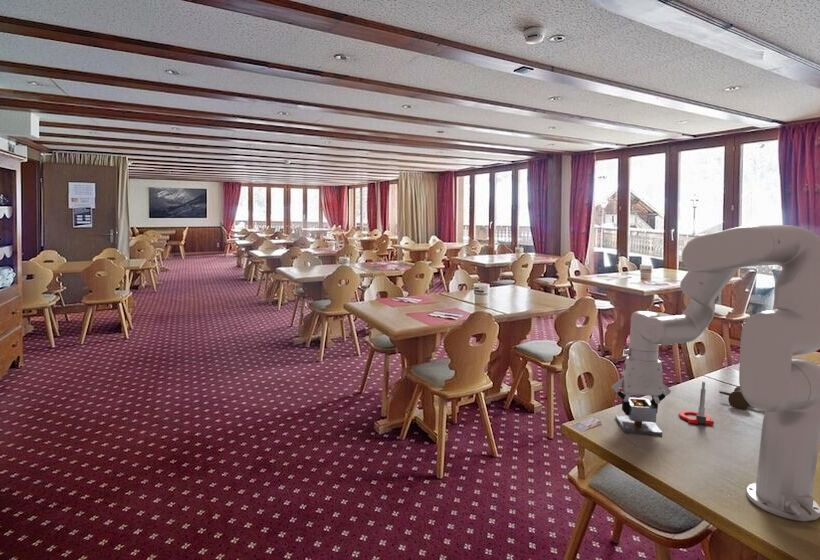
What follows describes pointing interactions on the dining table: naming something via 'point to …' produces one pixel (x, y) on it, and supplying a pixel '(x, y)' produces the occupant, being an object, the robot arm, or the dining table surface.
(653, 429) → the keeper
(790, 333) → the robot arm
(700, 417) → the tow hook
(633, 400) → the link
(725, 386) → the dining table surface
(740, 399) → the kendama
